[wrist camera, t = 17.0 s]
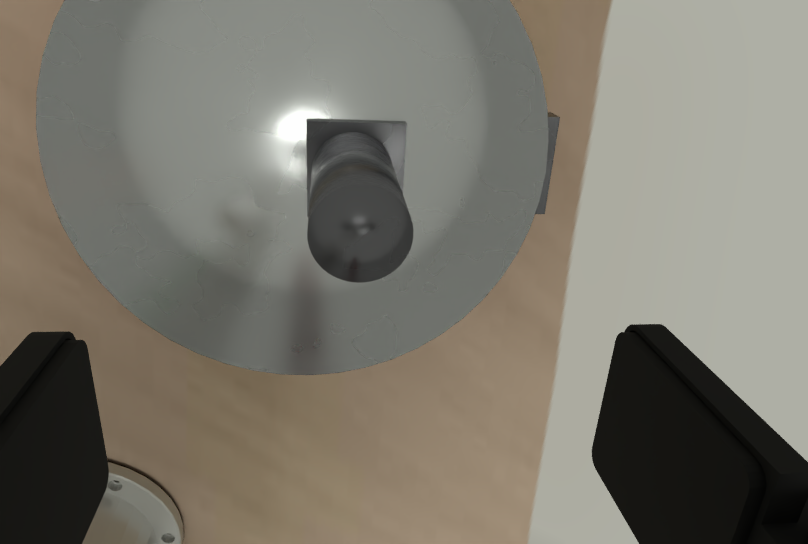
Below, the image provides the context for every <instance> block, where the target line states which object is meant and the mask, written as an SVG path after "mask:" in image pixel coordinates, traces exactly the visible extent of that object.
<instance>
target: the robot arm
mask: <svg viewBox="0 0 808 544" xmlns="http://www.w3.org/2000/svg"><path fill="white" fill-rule="evenodd" d="M592 459H593V463H594V466H595V468H596V470H597V472H598V474H599V475H600V477H601V479H602V481H603V482H604V484H605V486H606V487H607V489H608V491H609V493H610V494H611V496H612V498H613V499H614V501H615V503H616V505H617V506H618V508H619V510H620V511H621V513H622V515H623V517H624V518H625V520H626V522H627V523H628V525H629V527H630V528H631V530H632V532H633V534H634V535H635V537H636V539H637V541H638V542H639V544H808V462H807V461H806V460H805V459H804V458H803V457H802V456H801V455H800V454H798V453H797V452H796V451H795V450H794V449H793V448H792V447H791V446H790V445H789V444H788V443H787V442H786V441H785V440H784V439H783V438H782V437H781V436H780V435H778V434H777V433H776V432H775V431H774V430H773V429H772V428H771V427H770V426H769V425H768V424H767V423H766V422H765V421H764V420H763V419H762V418H761V417H760V416H758V415H757V414H756V413H755V412H754V411H753V410H752V409H751V408H750V407H749V406H748V405H747V404H746V403H745V402H744V401H743V400H742V399H741V398H740V397H738V396H737V395H736V394H735V393H734V392H733V391H732V390H731V389H730V388H729V387H728V386H727V385H726V384H725V383H724V382H723V381H722V380H721V379H719V377H717V376H716V375H715V374H714V373H713V372H712V371H711V370H710V369H709V368H708V367H707V366H706V365H705V364H704V363H703V362H702V361H701V360H700V359H699V358H697V357H696V356H695V355H694V354H693V353H692V352H691V351H690V350H689V349H688V348H687V347H686V346H685V345H684V344H683V343H682V342H681V341H680V340H679V339H677V338H676V337H675V336H674V335H673V334H672V333H671V332H670V331H669V330H668V329H667V328H666V327H665V326H663V325H660V324H648V325H647V324H646V325H630V326H628V327H627V329H626V330H625V332H621V333H620V334H618V336H617V338H616V341H615V346H614V351H613V355H612V359H611V364H610V369H609V374H608V378H607V383H606V387H605V392H604V396H603V401H602V405H601V410H600V414H599V419H598V424H597V428H596V433H595V438H594V442H593V447H592ZM183 538H184V533H183V523H182V520H181V517H180V514H179V511H178V509H177V508H176V506H175V505H174V503H173V501H172V500H171V498H170V497H169V496H168V495H167V494H166V493H165V492H164V491H163V490H162V489H161V488H160V487H159V486H157V485H156V484H155V483H153V482H152V481H150V480H149V479H148V478H146V477H145V476H143V475H141V474H139V473H137V472H135V471H133V470H131V469H128V468H125V467H122V466H119V465H116V464H113V463H110V462H108V461H107V456H106V450H105V445H104V439H103V433H102V428H101V422H100V416H99V411H98V405H97V399H96V394H95V388H94V382H93V377H92V371H91V365H90V360H89V354H88V349H87V345H86V343H85V341H83V340H76V339H75V337H74V335H73V334H72V333H71V332H32V333H30V334H29V335H28V336H27V337H26V338H25V339H24V340H23V341H22V343H21V344H20V345H19V346H18V347H17V348H16V349H15V350H14V352H13V353H12V354H11V355H10V356H9V357H8V358H7V359H6V361H5V362H4V363H3V364H2V365H1V366H0V544H182V542H183Z"/></svg>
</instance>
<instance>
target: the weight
mask: <svg viewBox="0 0 808 544" xmlns="http://www.w3.org/2000/svg"><path fill="white" fill-rule="evenodd" d="M307 240H308V245H309V249H310V251H311V254H312V256H313V257H314V259H315V261H316V262H317V263H318V264H319V266H320V267H321V268H322V269H324V270H325V271H326V272H327V273H329V274H330V275H332V276H334V277H336V278H338V279H341V280H344V281H348V282H356V283H363V282H371V281H375V280H378V279H381V278H383V277H385V276H387V275H389V274H391V273H392V272H393V271H395V270H396V269H397V268H398V267H399V266H400V265H401V264H402V263H403V261H404V260H405V259H406V257H407V255H408V253H409V251H410V249H411V246H412V242H413V223H412V220H411V216H410V214H409V211H408V208H407V205H406V202H405V199H404V196H403V193H402V190H401V187H400V184H399V181H398V179H397V176H396V173H395V170H394V167H393V164H392V161H391V158H390V156H389V154H388V152H387V150H386V149H385V148H384V146H383V145H382V144H381V143H380V142H378V141H377V140H376V139H374V138H373V137H371V136H368V135H366V134H362V133H357V132H347V133H342V134H338V135H336V136H334V137H332V138H330V139H328V140H327V141H326V142H325V143H324V144H323V145H322V146H321V147H320V148H319V150H318V151H317V153H316V155H315V157H314V160H313V163H312V172H311V186H310V200H309V215H308V229H307Z"/></svg>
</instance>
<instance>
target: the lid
mask: <svg viewBox="0 0 808 544" xmlns="http://www.w3.org/2000/svg"><path fill="white" fill-rule="evenodd" d="M559 120H560V117H558V116H556V115H555V114H553V113H548V111H547V104H546V98H545V92H544V86H543V80H542V75H541V72H540V69H539V66H538V62H537V59H536V56H535V53H534V49H533V46H532V43H531V41H530V39H529V37H528V35H527V33H526V30H525V28H524V26H523V24H522V22H521V19H520V17H519V15H518V13H517V12H516V10H515V8H514V7H513V5H512V4H511V2H510V0H64V2H63V4H62V6H61V8H60V10H59V12H58V14H57V16H56V18H55V20H54V23H53V26H52V29H51V32H50V35H49V38H48V41H47V44H46V47H45V50H44V53H43V57H42V63H41V69H40V75H39V81H38V87H37V105H36V130H37V138H38V146H39V154H40V162H41V165H42V169H43V173H44V177H45V180H46V184H47V188H48V191H49V195H50V197H51V200H52V202H53V205H54V207H55V209H56V212H57V214H58V217H59V219H60V221H61V224H62V226H63V228H64V230H65V231H66V233H67V235H68V236H69V238H70V240H71V242H72V243H73V245H74V247H75V249H76V250H77V252H78V254H79V255H80V257H81V258H82V259H83V261H84V262H85V263H86V265H87V266H88V267H89V269H90V270H91V271H92V273H93V274H94V275H95V277H96V278H97V279H98V280H99V281H100V283H101V284H102V285H103V286H104V287H105V288H106V289H107V290H108V291H109V292H110V293H111V294H112V295H113V296H114V297H115V298H116V299H117V300H118V301H119V302H120V303H121V304H122V305H123V306H124V307H126V308H127V309H128V310H129V311H130V312H132V313H133V314H134V315H135V316H136V317H138V318H139V319H140V320H141V321H143V322H144V323H145V324H147V325H148V326H150V327H151V328H153V329H154V330H156V331H158V332H159V333H161V334H162V335H164V336H165V337H167V338H168V339H170V340H172V341H174V342H176V343H178V344H180V345H182V346H184V347H186V348H188V349H190V350H192V351H194V352H196V353H198V354H201V355H204V356H206V357H209V358H212V359H214V360H217V361H220V362H222V363H225V364H229V365H233V366H237V367H241V368H245V369H249V370H254V371H261V372H268V373H276V374H289V375H317V374H330V373H339V372H345V371H350V370H355V369H360V368H365V367H369V366H372V365H375V364H378V363H382V362H385V361H388V360H391V359H394V358H396V357H398V356H401V355H403V354H405V353H407V352H410V351H412V350H414V349H417V348H418V347H420V346H422V345H424V344H425V343H427V342H429V341H431V340H432V339H434V338H436V337H438V336H439V335H441V334H442V333H444V332H445V331H446V330H448V329H449V328H450V327H452V326H453V325H454V324H456V323H457V322H459V321H460V320H461V319H463V318H464V317H465V316H466V315H467V314H468V313H469V312H470V311H471V310H472V309H473V308H474V307H476V306H477V305H478V304H479V303H480V302H481V301H482V300H483V299H484V298H485V297H486V295H487V294H488V293H489V292H490V291H491V289H492V288H493V287H494V286H495V285H496V284H497V282H498V281H499V280H500V279H501V277H502V276H503V274H504V273H505V271H506V270H507V268H508V267H509V265H510V264H511V262H512V261H513V259H514V258H515V256H516V255H517V253H518V251H519V249H520V247H521V245H522V243H523V241H524V239H525V237H526V235H527V233H528V231H529V229H530V226H531V223H532V220H533V218H534V215H535V214H545V208H546V201H547V195H548V189H549V183H550V176H551V170H552V164H553V157H554V151H555V145H556V139H557V132H558V126H559ZM347 132H357V133H362V134H366V135H368V136H371V137H373V138H374V139H376V140H377V141H378V142H380V143H381V144H382V145H383V146H384V148H385V149H386V150H387V152H388V154H389V156H390V158H391V161H392V164H393V167H394V170H395V173H396V176H397V179H398V181H399V184H400V187H401V190H402V193H403V196H404V199H405V202H406V205H407V208H408V211H409V214H410V216H411V220H412V223H413V242H412V246H411V249H410V251H409V253H408V255H407V257H406V259H405V260H404V261H403V263H402V264H401V265H400V266H399V267H398V268H397V269H396V270H395V271H393V272H392V273H391V274H389V275H387V276H385V277H383V278H381V279H378V280H375V281H371V282H363V283H356V282H348V281H344V280H341V279H338V278H336V277H334V276H332V275H330V274H329V273H327V272H326V271H325V270H324V269H322V268H321V267H320V266H319V264H318V263H317V262H316V261H315V259H314V257H313V256H312V254H311V251H310V249H309V245H308V240H307V229H308V215H309V200H310V186H311V172H312V163H313V160H314V157H315V155H316V153H317V151H318V150H319V148H320V147H321V146H322V145H323V144H324V143H325V142H326V141H327V140H328V139H330V138H332V137H334V136H336V135H338V134H342V133H347Z"/></svg>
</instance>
